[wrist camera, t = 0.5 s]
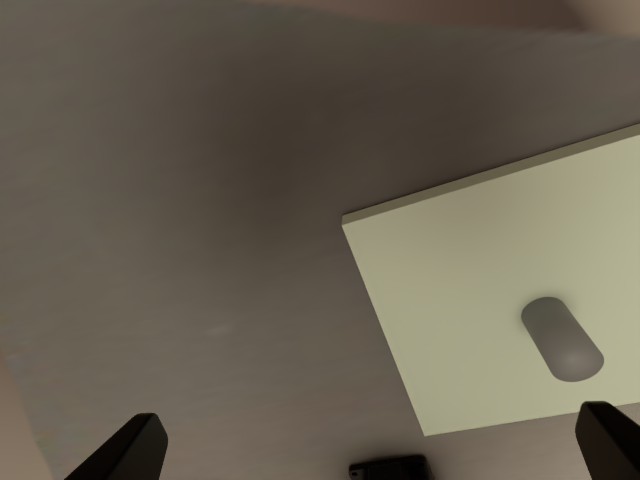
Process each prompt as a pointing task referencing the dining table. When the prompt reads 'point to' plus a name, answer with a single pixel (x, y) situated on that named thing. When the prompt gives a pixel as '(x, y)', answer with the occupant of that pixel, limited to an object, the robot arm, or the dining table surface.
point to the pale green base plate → (512, 285)
